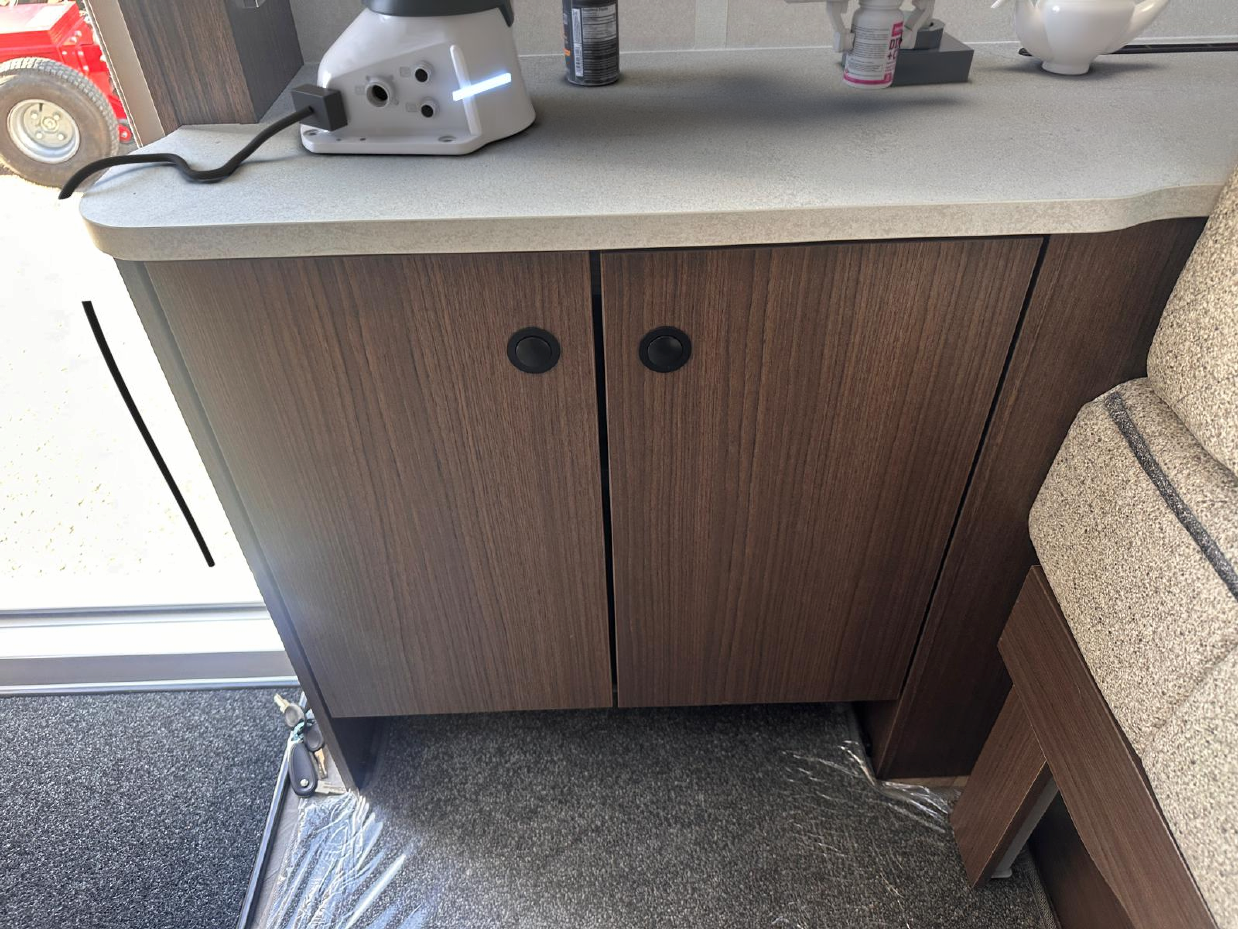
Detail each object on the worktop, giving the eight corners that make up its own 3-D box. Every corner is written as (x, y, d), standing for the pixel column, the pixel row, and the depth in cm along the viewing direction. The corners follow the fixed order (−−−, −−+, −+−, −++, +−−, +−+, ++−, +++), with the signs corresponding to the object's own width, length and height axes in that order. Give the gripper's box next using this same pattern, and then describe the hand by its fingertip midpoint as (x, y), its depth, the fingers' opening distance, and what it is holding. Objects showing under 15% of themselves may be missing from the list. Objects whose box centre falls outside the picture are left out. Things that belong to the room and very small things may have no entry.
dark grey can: (574, 69, 96) (568, -45, 88) (624, 71, 95) (623, -44, 87) (560, 85, 91) (552, -34, 84) (613, 87, 90) (610, -33, 83)
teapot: (960, 58, 96) (982, -35, 90) (1134, 54, 96) (1167, -39, 90) (990, 83, 89) (1015, -16, 83) (1178, 79, 89) (1217, -20, 83)
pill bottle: (893, 91, 81) (910, -7, 75) (842, 89, 81) (856, -8, 76) (891, 77, 84) (908, -19, 79) (842, 75, 85) (856, -19, 79)
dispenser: (867, 87, 89) (875, 36, 85) (840, 63, 95) (847, 15, 92) (967, 82, 89) (979, 30, 86) (933, 58, 96) (943, 10, 93)
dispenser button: (899, 32, 88) (903, 11, 86) (885, 23, 91) (889, 2, 89) (936, 31, 88) (940, 9, 87) (921, 21, 91) (925, 0, 90)
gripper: (999, -134, 75) (962, 35, 84) (776, -125, 73) (762, 46, 82) (1034, -126, 70) (990, 52, 79) (795, -117, 69) (778, 64, 78)
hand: (872, 49), depth 81 cm, fingers closed on pill bottle, 5 cm apart
